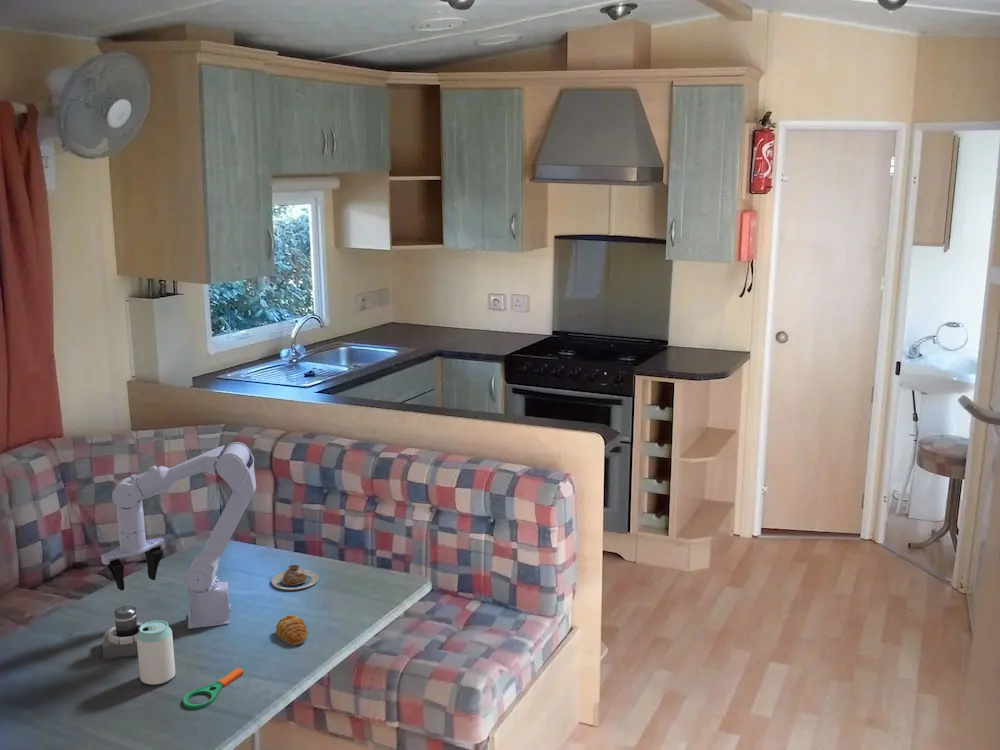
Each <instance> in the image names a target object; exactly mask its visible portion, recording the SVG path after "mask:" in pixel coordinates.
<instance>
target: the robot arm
mask: <svg viewBox="0 0 1000 750" xmlns="http://www.w3.org/2000/svg"><path fill="white" fill-rule="evenodd" d="M204 472H206V473H209V474H211V475H213V476H216V475H217V473H218V475H219V476H220V478H222V479H223V480H224V481H225V482H226V484H228V485H229V488H230V490H231V492H232V493H231V495H230V497H229V499H228V501H227V503H226V505H225V506H224V509H223V511H222V512H221V514H220V516H219V517H218V518H219V519H218V520H217V522H216V524H215V525H214V527H213V530H212V532H211V533H210V535H209V537H208V539H207V541H206V543H205V544H204V547H203V549H202V550H201V551H200V552H198V553H197V554H196V555H195V556H194V558H193V559H192V563H191V564H190V566H189V568H188V570H187V571H186V572H185V573H184V584H185V585H186V587H187V599H188V609H189V610H188V618H187V629H188V630H189V629H191V630H192V629H197V628H198V629H199V628H207V627H213V626H223V625H229V624H230V623H231V618H230V617H231V612H232V608H231V607H232V605H231V603H230V598H229V584H228V582H227V581H220V579H219V578H218V576H217V572H218V570H219V568H220V559H221V557H222V555H223V553H224V552H225V549H226V547H227V545H228V543H229V542H230V539H231V537H232V536H233V534H234V532H235V531H236V528H237V527H238V525H239V523H240V520H241V519H242V517H243V516H244V513H245V511H246V509H247V508H248V505H249V504H250V502H251V500H252V497H253V496H254V494H255V493H256V489H257V483H256V474H255V457H254V456H253V454H252V452H251V450H250V448H249V447H248V446H247V445H246V444H245V443H243V442H239V441H234V442H231V443H229V444H227V445H221V446H218V447H216V448H213V449H210V450H207V451H206V452H203V453H202V454H200V455H199V454H198V455H197V456H195V457H193V458H190V459H188V460H186V461H183V462H181V463H179V464H175V466H172V467H166V466H163V465H161V466H158V467H157V465H153V466H151V467H150V468H149V470H148V471H145V472H142V473H140V474H138V475H137V474H132V475H131V476H129V477H125V478H124V479H122V480H121V481H120V482H119V483H118V484H117V485H116V486H115V488H114V489H113V490H112V493H111V500H112V502H113V504H115V506H116V517H117V527H118V529H117V530H118V538H119V539H118V540H119V547H117V548H115V549H113V550H110V551H108V552H105V553H103V554H101V555H100V557H101V563H102V564H103V565H104V566H106V567H107V568H108V570H109V572H110V573H111V575H112V577H113V579H114V581H115V583H116V588H117V589H118V590H120V591H121V592H122V591H125V580H124V570H125V565H124V564H122V562H121V560H123V559H126V558H131V557H134V556H137V555H140V554H143V553H144V555H145V560H146V565H147V566H146V567H147V568H146V569H147V576H148V579H150V580H152V581H154V580H156V578H157V572H158V567H159V565H160V562H161V560H162V558H163V556H164V550H163V548H165V547H166V543H165V542H166V541H165V539H164V538H162V537H160V536H159V537H157V538H153V539H146V526H145V516H144V515H145V513H144V508H143V500H146V499H149V498H151V497H154V496H156V495H159V494H162V493H164V492H167V491H168V490H172V488H173V486H174V483H175V482H177V481H181V480H184V479H185V478H189V477H192V476H195V475H198V474H201V473H204Z"/></svg>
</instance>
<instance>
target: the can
mask: <svg viewBox="0 0 1000 750" xmlns="http://www.w3.org/2000/svg"><path fill="white" fill-rule="evenodd" d="M173 637H174V636H173V630H172V628H171V627H170V626H169V623H168V622H167V621H165V620H151V621H147V622H145V623H143V625H141V626H140V628H139V632H138V634H137V648H138V655H137V659H138V668H139V680H140V681H141V682H142V683H144V684H146V685H149V686H158V685H163V684H165V683H168V682H169V681H170V680H172V679H173V677H175V676H176V664H175V661H176V660H175V652H174V651H175V650H174V641H173Z"/></svg>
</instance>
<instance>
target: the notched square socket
mask: <svg viewBox="0 0 1000 750" xmlns="http://www.w3.org/2000/svg"><path fill="white" fill-rule="evenodd" d="M143 624H144V622H140V621H137V628H138V632H139V628H140V626H141V625H143ZM137 634H138V633H137ZM137 634H135V635H133V636H128V637H118V636H116V625H115V626H114V627H111V628H110V629H106V630H105V634H104V638H103V642H102V647H101V648H102V656H103V660H108V659H116V658H122V657H123V658H125V657H131V656H138V648H137Z"/></svg>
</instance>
